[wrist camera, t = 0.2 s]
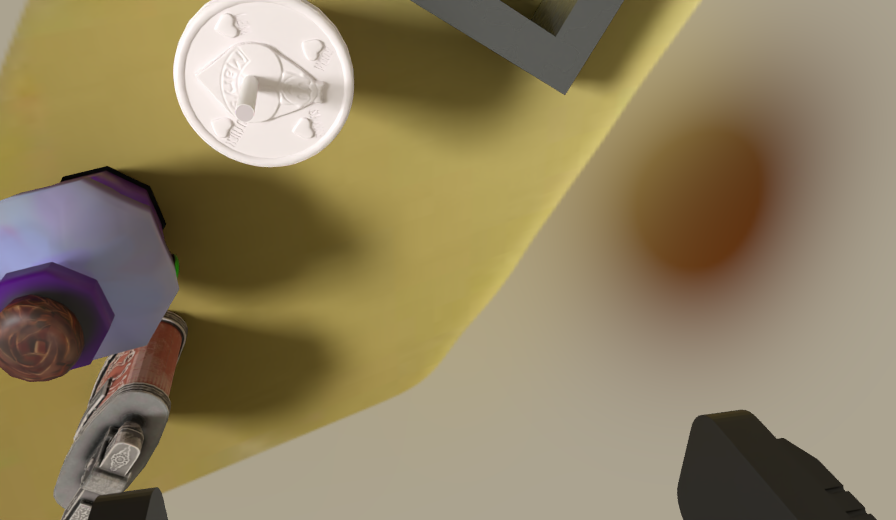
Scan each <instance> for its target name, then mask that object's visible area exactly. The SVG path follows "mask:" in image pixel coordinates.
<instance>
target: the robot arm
mask: <svg viewBox="0 0 896 520" xmlns="http://www.w3.org/2000/svg"><path fill="white" fill-rule="evenodd" d="M677 496H678V504H679V508H680V511H681V515H682V517H683V520H876V518H875V517H874V516H873V515H871V514H867V513H866V511H865V507H864V506H863V505H862V504H861V503H860V502H859V501H858V500H857V499H856V498H855V497H854V496H853V495H852V494H851V493H850V492H849V491H847V492H845V490H844V489H843V485H842V484H841V483H840V482H839V481H838V480H837V479H836V478H835V477H834V476H833V475H832V474H831V473H830V472H829V471H828V470H827V469H826V468H825V466H824V465H823V464H822V463H821V462H820V461H819V460H817V459H816V458H815V457H813V456H811V455H810V454H808V453H807V452H805V451H803V450H802V449H800V448H799V447H797V446H795V445H794V444H792V443H791V442H789V441H787V440H786V439H784V438H780V439H776V438H775V437H774V436H773V435H772V433H771V432H770V431H769V430H768V429H767V428H766V427H765V426H764V425H763V424H762V423H761V422H760V421H759V419H757V417H756V416H754V415H753V414H752V413H751V412H749V411H746V410H736V411H729V412H721V413H715V414H707V415H700V416H698V417H696V419H695V420H694V422H693V424H692V427H691V431H690V436H689V440H688V444H687V448H686V453H685V457H684V461H683V466H682V469H681V474H680V478H679V482H678V488H677ZM88 520H168V518H167V513H166V509H165V505H164V500H163V497H162V493H161V491H160V489H159V488H158V487H156V488H149V489H141V490H134V491H126V492H119V493H112V494H104V495H99V496H97V498H96V499H95V501H94V502H93V505H92V507H91V511H90V514H89V517H88Z"/></svg>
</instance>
